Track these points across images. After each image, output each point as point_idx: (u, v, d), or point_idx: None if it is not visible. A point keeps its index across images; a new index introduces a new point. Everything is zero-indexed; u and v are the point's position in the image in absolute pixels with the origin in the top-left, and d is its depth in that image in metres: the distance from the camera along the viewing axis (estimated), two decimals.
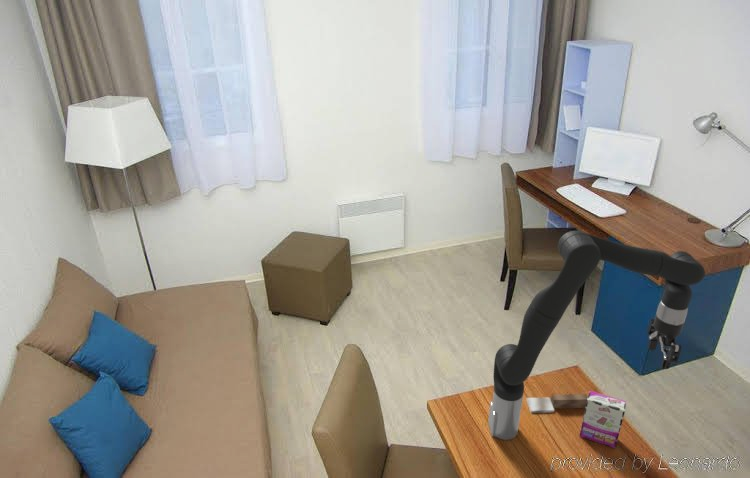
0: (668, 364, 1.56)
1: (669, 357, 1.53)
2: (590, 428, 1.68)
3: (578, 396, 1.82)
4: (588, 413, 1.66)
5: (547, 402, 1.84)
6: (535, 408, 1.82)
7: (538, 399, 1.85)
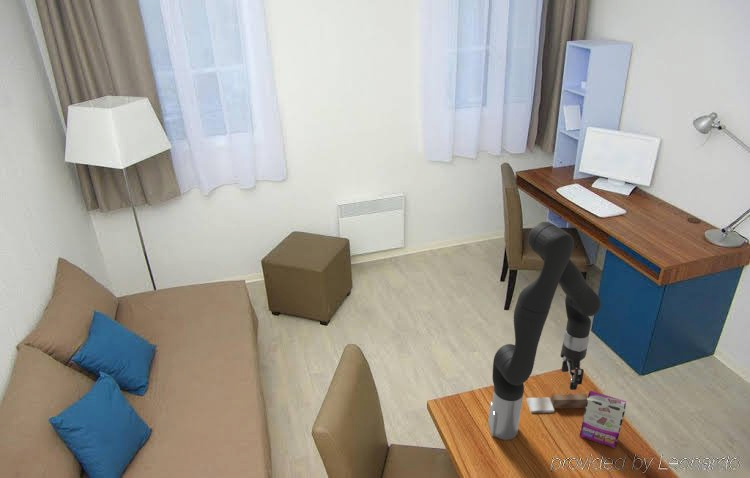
0: (575, 385, 1.73)
1: (574, 380, 1.70)
2: (590, 428, 1.68)
3: (578, 396, 1.82)
4: (588, 413, 1.66)
5: (547, 402, 1.84)
6: (535, 408, 1.82)
7: (538, 399, 1.85)
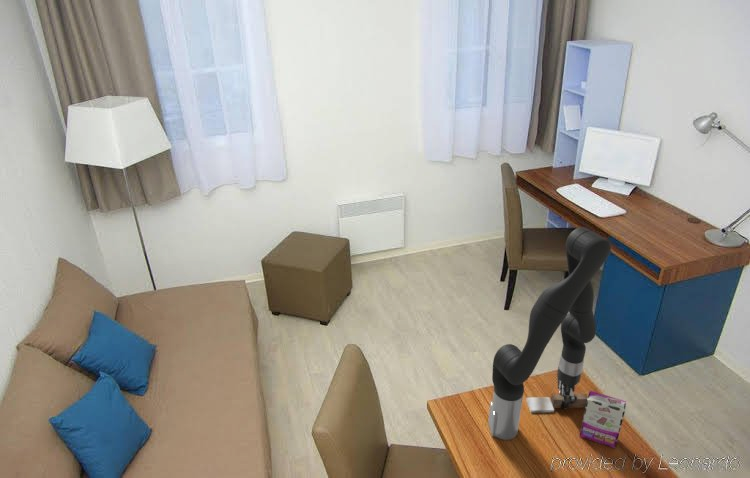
0: (566, 405, 1.81)
1: (565, 401, 1.77)
2: (590, 428, 1.68)
3: (578, 396, 1.82)
4: (588, 413, 1.66)
5: (546, 401, 1.84)
6: (535, 408, 1.82)
7: (538, 399, 1.85)
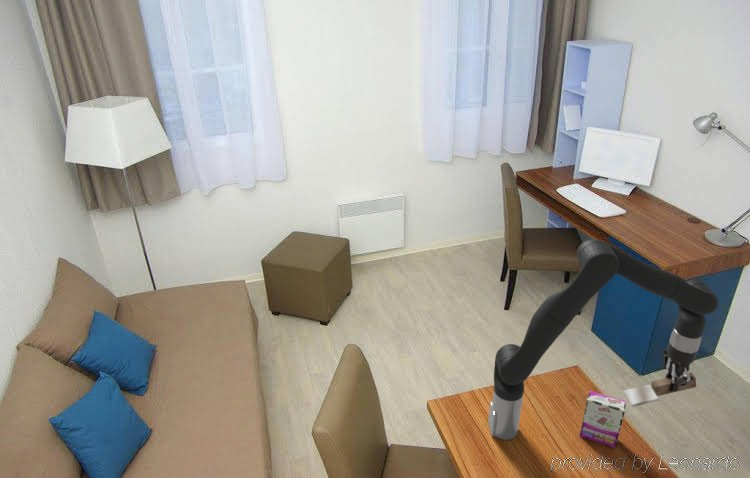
0: (676, 387, 1.58)
1: (678, 383, 1.55)
2: (590, 428, 1.68)
3: None
4: (588, 413, 1.66)
5: (647, 390, 1.63)
6: (636, 401, 1.61)
7: (637, 389, 1.65)
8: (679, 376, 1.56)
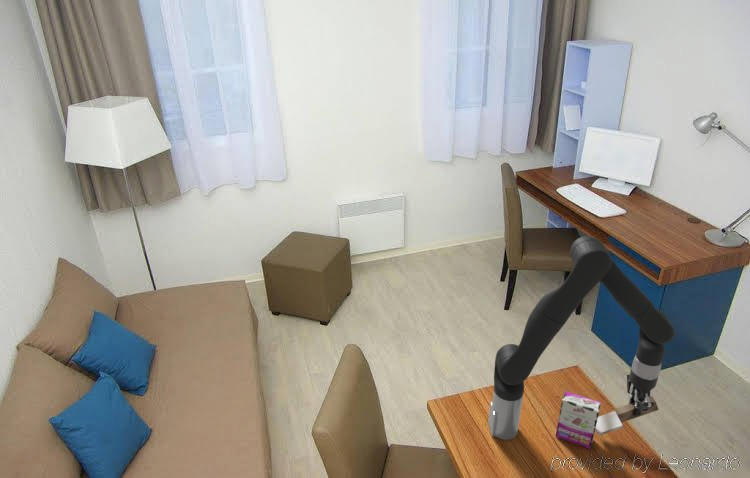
0: (639, 412, 1.63)
1: (640, 408, 1.59)
2: (565, 428, 1.68)
3: None
4: (563, 413, 1.66)
5: (613, 417, 1.68)
6: (602, 430, 1.67)
7: (603, 417, 1.70)
8: (641, 401, 1.61)
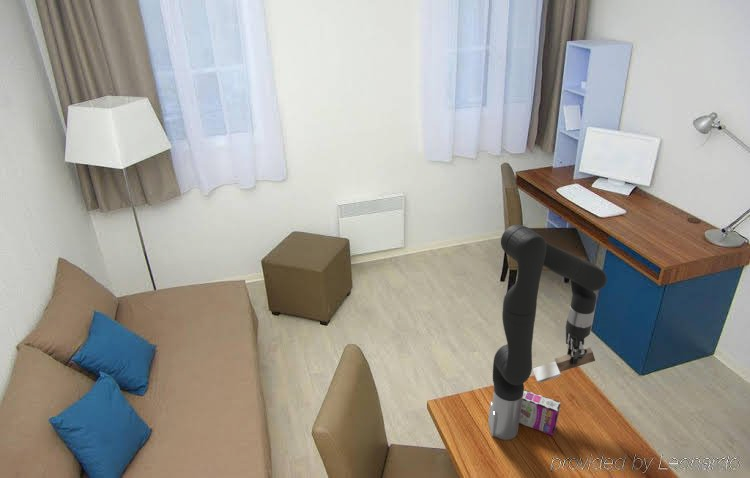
0: (575, 360, 1.71)
1: (575, 356, 1.68)
2: (538, 424, 1.73)
3: None
4: (520, 421, 1.76)
5: (553, 367, 1.77)
6: (541, 377, 1.75)
7: (544, 366, 1.78)
8: (577, 350, 1.69)
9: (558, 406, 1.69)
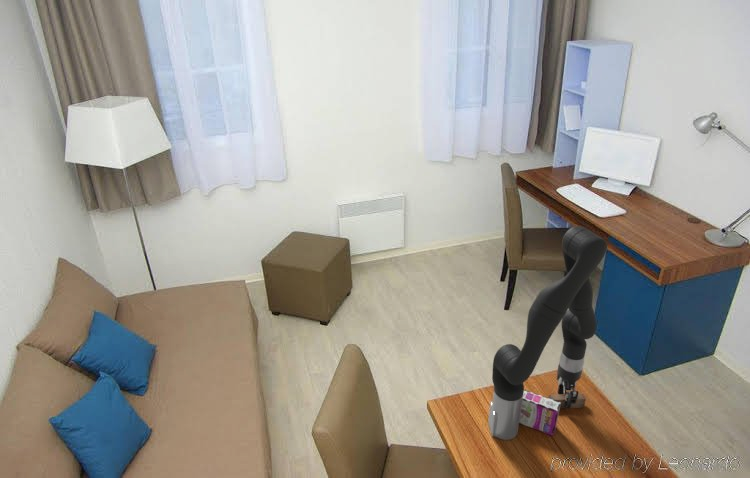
0: (569, 405, 1.78)
1: (568, 400, 1.75)
2: (538, 424, 1.73)
3: None
4: (520, 421, 1.76)
5: None
6: None
7: None
8: None
9: (558, 406, 1.69)
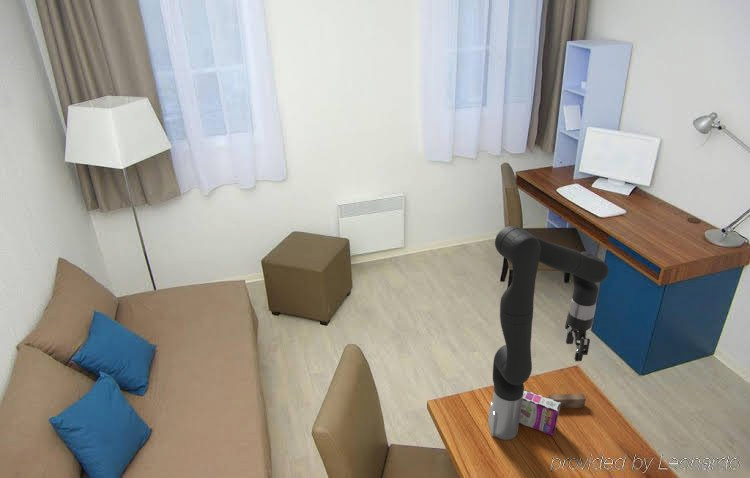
0: (580, 357, 1.67)
1: (579, 350, 1.64)
2: (538, 424, 1.73)
3: (575, 396, 1.82)
4: (520, 421, 1.76)
5: None
6: None
7: None
8: None
9: (558, 406, 1.69)
